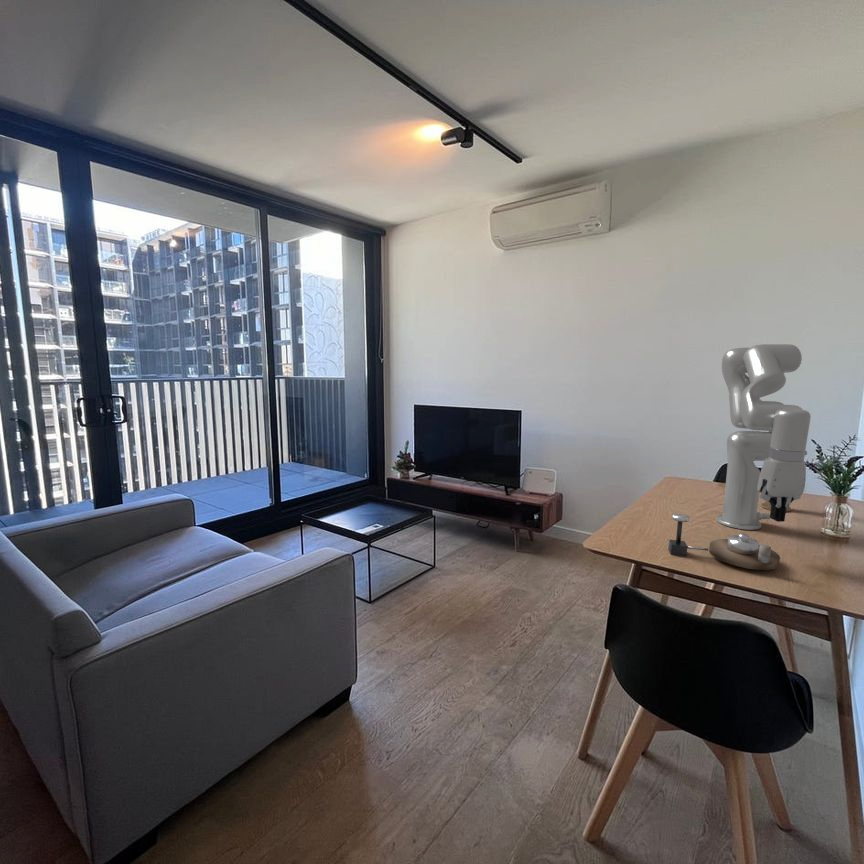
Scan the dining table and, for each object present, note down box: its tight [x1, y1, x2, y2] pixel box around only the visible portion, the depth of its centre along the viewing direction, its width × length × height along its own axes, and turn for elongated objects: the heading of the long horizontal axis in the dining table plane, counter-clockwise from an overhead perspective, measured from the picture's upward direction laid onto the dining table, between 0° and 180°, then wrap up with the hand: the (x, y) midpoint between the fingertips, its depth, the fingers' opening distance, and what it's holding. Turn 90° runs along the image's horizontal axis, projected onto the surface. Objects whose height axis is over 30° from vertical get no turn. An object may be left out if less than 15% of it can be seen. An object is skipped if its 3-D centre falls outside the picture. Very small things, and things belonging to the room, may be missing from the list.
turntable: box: [708, 538, 781, 571], centre depth 126 cm, size 16×16×6 cm
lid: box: [727, 532, 760, 556], centre depth 126 cm, size 7×7×4 cm
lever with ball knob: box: [667, 512, 709, 558], centre depth 130 cm, size 10×4×11 cm, turn 72°
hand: (776, 519), depth 127 cm, fingers closed
